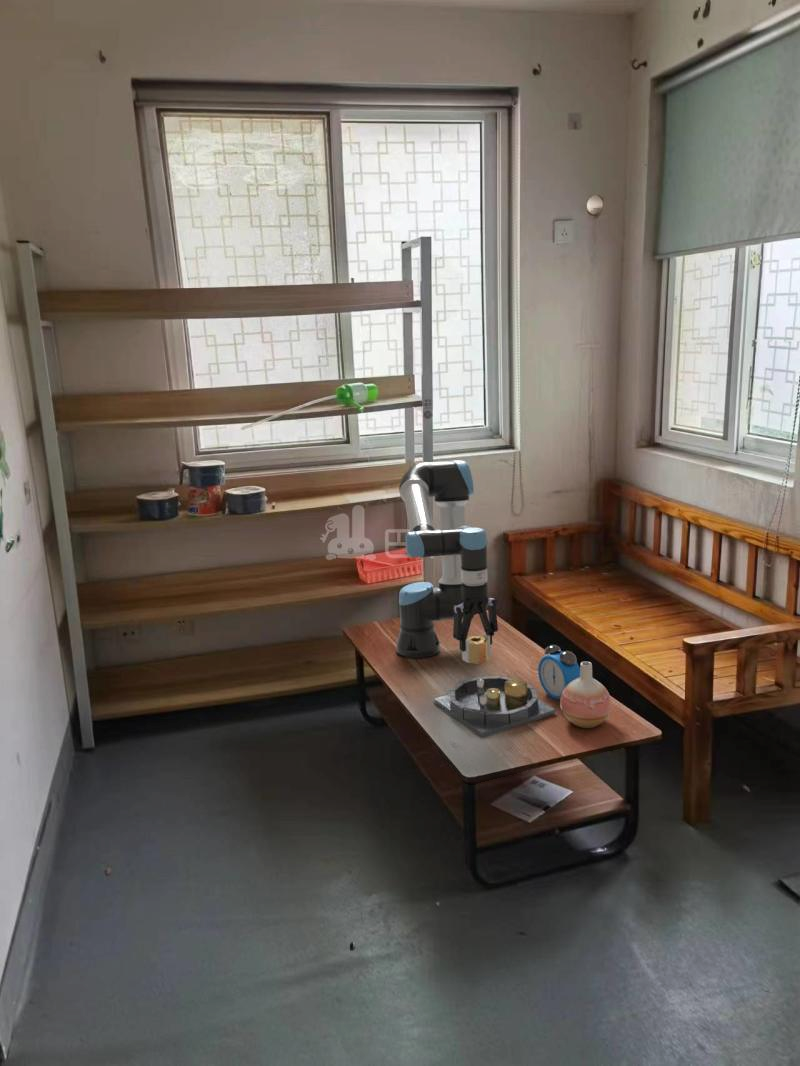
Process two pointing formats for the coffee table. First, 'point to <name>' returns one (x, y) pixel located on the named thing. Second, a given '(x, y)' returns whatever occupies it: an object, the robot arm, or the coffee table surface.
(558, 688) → the alarm clock
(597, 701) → the vase
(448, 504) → the robot arm
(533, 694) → the carrier
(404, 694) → the coffee table surface
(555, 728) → the coffee table surface
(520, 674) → the coffee table surface
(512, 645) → the coffee table surface
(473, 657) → the octagonal brass tube
